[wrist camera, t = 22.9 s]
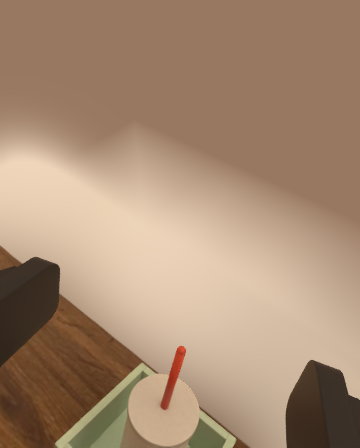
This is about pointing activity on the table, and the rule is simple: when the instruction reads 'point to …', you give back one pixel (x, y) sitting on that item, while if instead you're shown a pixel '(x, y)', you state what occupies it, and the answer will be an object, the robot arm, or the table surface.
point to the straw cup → (161, 411)
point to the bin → (117, 414)
